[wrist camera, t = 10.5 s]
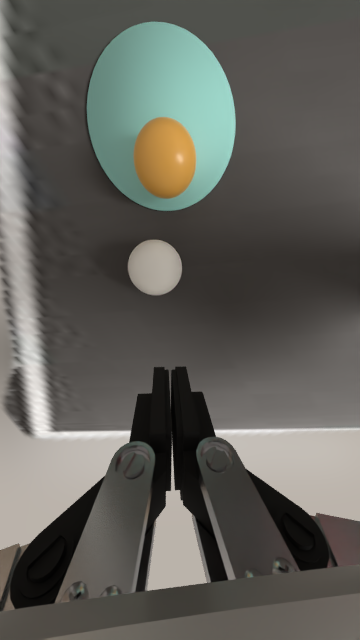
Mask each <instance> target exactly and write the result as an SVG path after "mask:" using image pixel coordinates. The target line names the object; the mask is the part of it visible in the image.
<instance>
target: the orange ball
mask: <svg viewBox="0 0 360 640" xmlns="http://www.w3.org/2000/svg"><path fill="white" fill-rule="evenodd" d="M133 158H134V166H135V170H136V173H137V176H138V178H139V180H140V182H141V184H142V185H143V186H144V188H145V189H146V190H147V191H148V192H150V193H151V194H152V195H154V196H156V197H159V198H163V199H170V198H174V197H177V196H179V195H180V194H182V193H183V192H184V191H185V190H186V189H187V188H188V186H189V185H190V183H191V181H192V179H193V177H194V174H195V170H196V150H195V146H194V142H193V140H192V138H191V136H190V134H189V132H188V131H187V129H186V128H185V127H184V126H183V125H182V124H181V123H180V122H178V121H177V120H175V119H172V118H169V117H157V118H155V119H152V120H150V121H149V122H148V123H146V124H145V125H144V126H143V128H142V129H141V130H140V132H139V134H138V136H137V139H136V141H135V145H134V156H133Z"/></svg>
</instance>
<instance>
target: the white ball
mask: <svg viewBox="0 0 360 640" xmlns="http://www.w3.org/2000/svg"><path fill="white" fill-rule="evenodd" d="M128 273H129V276H130V279H131V281H132V282H133V284H134V285H135V286H136V287H137V288H138V289H139V290H140V291H142V292H144V293H146V294H149V295H162V294H165V293H168V292H169V291H171V290H172V289H173V288H174V287H175V286H176V285H177V284H178V282H179V280H180V278H181V274H182V263H181V259H180V256H179V254H178V253H177V251H176V250H175V249H174V248H173V247H172V246H171V245H170V244H168V243H166V242H164V241H161V240H147V241H144V242H142V243H140V244H139V245H137V246H136V247H135V248H134V250H133V251H132V253H131V255H130V257H129V261H128Z"/></svg>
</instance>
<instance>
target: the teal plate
mask: <svg viewBox="0 0 360 640" xmlns="http://www.w3.org/2000/svg"><path fill="white" fill-rule="evenodd" d="M157 117H169V118H172V119H175V120H177V121H178V122H180V123H181V124H182V125H183V126H184V127H185V128H186V129H187V131H188V132H189V134H190V136H191V138H192V140H193V142H194V146H195V150H196V170H195V174H194V177H193V179H192V181H191V183H190V185H189V186H188V188H187V189H186V190H185V191H184V192H183V193H182V194H180V195H179V196H177V197H174V198H170V199H163V198H159V197H156V196H154V195H152V194H151V193H150V192H148V191H147V190H146V189H145V188H144V186H143V185H142V184H141V182H140V180H139V178H138V176H137V173H136V170H135V166H134V158H133V156H134V145H135V141H136V139H137V136H138V134H139V132H140V130H141V129H142V128H143V126H144V125H145V124H146V123H148V122H149V121H150V120H152V119H155V118H157ZM87 121H88V128H89V134H90V138H91V142H92V145H93V148H94V151H95V153H96V156H97V158H98V160H99V162H100V164H101V166H102V168H103V170H104V171H105V173H106V174H107V176H108V177H109V179H110V180H111V181H112V182H113V184H114V185H115V186H116V187H117V188H118V189H119V190H120V191H121V192H122V193H123V194H124V195H126V196H127V197H128V198H130V199H131V200H133V201H134V202H136V203H138V204H140V205H142V206H144V207H147V208H150V209H154V210H160V211H174V210H180V209H183V208H186V207H189V206H191V205H193V204H195V203H197V202H198V201H200V200H201V199H203V198H204V197H205V196H206V195H207V194H208V193H210V192H211V190H212V189H213V188H214V187H215V186H216V185H217V183H218V182H219V180H220V179H221V177H222V175H223V173H224V171H225V169H226V167H227V165H228V162H229V160H230V157H231V153H232V149H233V145H234V138H235V109H234V102H233V97H232V93H231V90H230V86H229V83H228V81H227V78H226V75H225V73H224V71H223V69H222V67H221V66H220V64H219V62H218V61H217V59H216V58H215V56H214V55H213V53H212V52H211V51H210V50H209V49H208V47H207V46H206V45H205V44H204V43H203V42H202V41H201V40H199V39H198V38H197V37H196V36H195V35H193V34H192V33H190V32H189V31H187V30H185V29H183V28H181V27H179V26H176V25H173V24H169V23H165V22H147V23H141V24H138V25H135V26H132V27H130V28H128V29H127V30H125V31H123V32H122V33H120V34H119V35H118V36H117V37H115V38H114V39H113V40H112V41H111V42H110V44H109V45H108V46H107V47H106V48H105V50H104V51H103V53H102V54H101V56H100V57H99V59H98V61H97V64H96V66H95V68H94V70H93V74H92V77H91V80H90V84H89V90H88V97H87Z"/></svg>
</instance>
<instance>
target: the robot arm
mask: <svg viewBox="0 0 360 640" xmlns="http://www.w3.org/2000/svg"><path fill="white" fill-rule="evenodd" d="M172 445H173V461H174V480H175V490H180V495H181V500H183V505H184V506H185V507H186V508H187V509H188V510H189V511H190V512H191V513H192V519H193V524H194V529H195V533H196V537H197V542H198V546H199V550H200V555H201V558H202V563H203V567H204V572H205V576H206V580H207V583H204V584H196V585H189V586H181V587H174V588H166V589H159V590H151V591H147V585H148V577H149V570H150V563H151V556H152V548H153V541H154V534H155V526H156V518H157V517H158V516H159V514H160V513H161V512H162V510H163V509H164V508H165V506H166V491H171V454H172V453H171V450H172ZM0 640H360V521H354V520H349V519H344V518H339V517H334V516H329V515H324V514H319V513H316V516H310V515H309V514H308V513H306V512H305V511H304V510H303V509H302V508H300V507H299V506H298V505H296V504H295V503H293V502H292V501H290V500H289V499H288V498H286V497H285V496H283V495H282V494H280V493H279V492H277V491H276V490H275V489H274V488H272V487H271V486H269V485H268V484H266V483H265V482H264V481H262V480H261V479H260V478H258V477H257V476H255V475H254V474H252V473H251V472H250V471H248V470H247V469H245V467H244V465H243V463H242V461H241V460H240V458H239V456H238V454H237V452H236V450H235V449H234V448H233V446H232V445H231V444H230V443H228V442H227V441H226V440H224V439H222V438H218V437H216V435H215V432H214V429H213V425H212V422H211V419H210V415H209V412H208V409H207V405H206V402H205V399H204V395H203V393H202V392H191V388H190V383H189V379H188V374H187V369H186V367H175V370H172V373H171V407H170V389H169V371H168V370H164V367H154V375H153V389H152V393H151V394H138V397H137V402H136V408H135V413H134V419H133V425H132V430H131V436H130V441H129V443H127V444H125V445H124V446H122V447H121V448H120V449H119V450H118V451H117V452H116V453H115V455H114V456H113V458H112V460H111V463H110V465H109V468H108V470H107V473H106V475H105V476H104V477H103V478H102V479H101V480H100V481H99V482H97V483H96V484H95V485H94V486H93V487H92V488H91V489H90V490H88V491H87V492H86V493H85V494H84V495H83V496H82V497H80V499H78V500H77V501H76V502H75V503H74V504H73V505H71V506H70V507H69V508H68V509H67V510H66V511H65V512H63V513H62V514H61V515H60V516H59V517H58V518H57V519H56V520H54V521H53V522H52V523H51V524H50V525H49V526H48V527H47V528H46V529H44V530H43V531H42V532H41V533H40V534H39V535H38V536H37V537H36V538H35V539H34V540H33V541H32V542H31V543H30V544H27V545H24V546H21V547H20V545H19V544H15V545H13V546H10V547H8V548H5V549H2V550H0Z"/></svg>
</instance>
